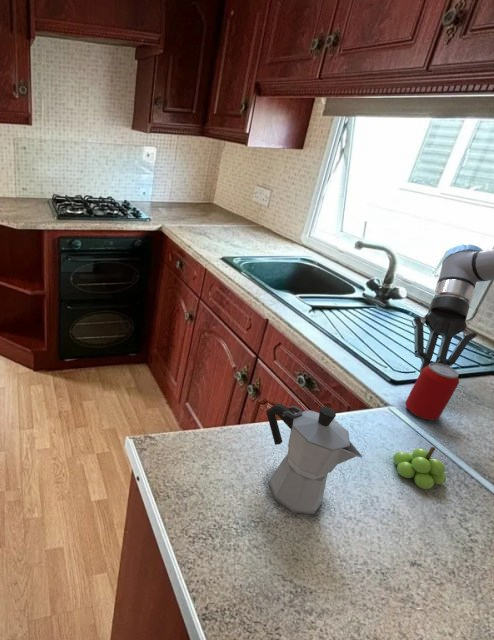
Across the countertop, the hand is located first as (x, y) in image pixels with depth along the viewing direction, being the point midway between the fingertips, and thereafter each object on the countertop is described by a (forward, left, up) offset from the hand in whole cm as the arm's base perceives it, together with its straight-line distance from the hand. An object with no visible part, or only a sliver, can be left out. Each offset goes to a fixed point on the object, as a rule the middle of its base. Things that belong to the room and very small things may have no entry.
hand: (425, 388), depth 95 cm
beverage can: (0, +5, -4) cm, 6 cm away
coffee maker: (+22, +46, -4) cm, 51 cm away
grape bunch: (+2, +28, -4) cm, 29 cm away
